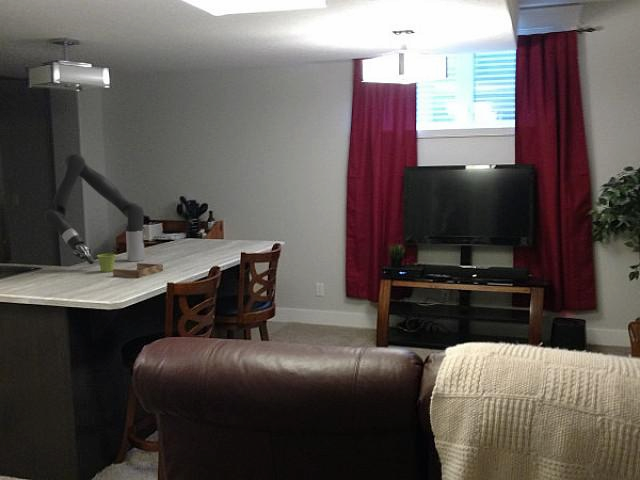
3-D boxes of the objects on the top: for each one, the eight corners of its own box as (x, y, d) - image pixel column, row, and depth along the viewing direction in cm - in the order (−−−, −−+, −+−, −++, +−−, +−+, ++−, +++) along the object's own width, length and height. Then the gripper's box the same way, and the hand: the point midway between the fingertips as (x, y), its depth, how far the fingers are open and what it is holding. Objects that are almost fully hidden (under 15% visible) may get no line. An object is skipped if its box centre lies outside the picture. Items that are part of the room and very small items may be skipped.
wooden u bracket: (138, 269, 326) (138, 263, 325) (162, 271, 320) (162, 264, 320) (113, 276, 307) (112, 269, 306) (138, 278, 301) (138, 271, 301)
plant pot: (99, 273, 314) (98, 256, 313) (96, 270, 322) (95, 254, 321) (118, 272, 318) (117, 255, 317) (115, 269, 327) (114, 253, 325)
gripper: (67, 235, 318) (87, 260, 316) (85, 233, 331) (104, 256, 328) (60, 245, 321) (80, 269, 318) (78, 242, 333) (97, 265, 330)
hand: (92, 263), depth 323 cm, fingers closed
